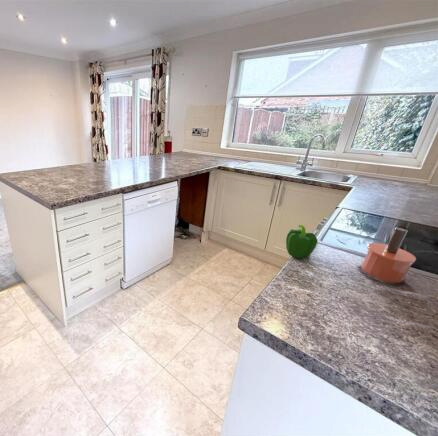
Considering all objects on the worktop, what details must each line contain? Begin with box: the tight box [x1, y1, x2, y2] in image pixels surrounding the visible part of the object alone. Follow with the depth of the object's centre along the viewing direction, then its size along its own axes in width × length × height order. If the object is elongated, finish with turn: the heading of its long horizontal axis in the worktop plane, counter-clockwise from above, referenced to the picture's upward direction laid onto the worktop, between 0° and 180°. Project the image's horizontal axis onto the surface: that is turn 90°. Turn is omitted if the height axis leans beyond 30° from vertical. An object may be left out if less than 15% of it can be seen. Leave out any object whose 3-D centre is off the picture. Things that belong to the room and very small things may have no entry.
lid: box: [366, 227, 417, 264], centre depth 68 cm, size 10×10×8 cm
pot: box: [360, 249, 413, 284], centre depth 71 cm, size 9×9×7 cm
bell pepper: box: [285, 224, 318, 259], centre depth 79 cm, size 8×8×10 cm
